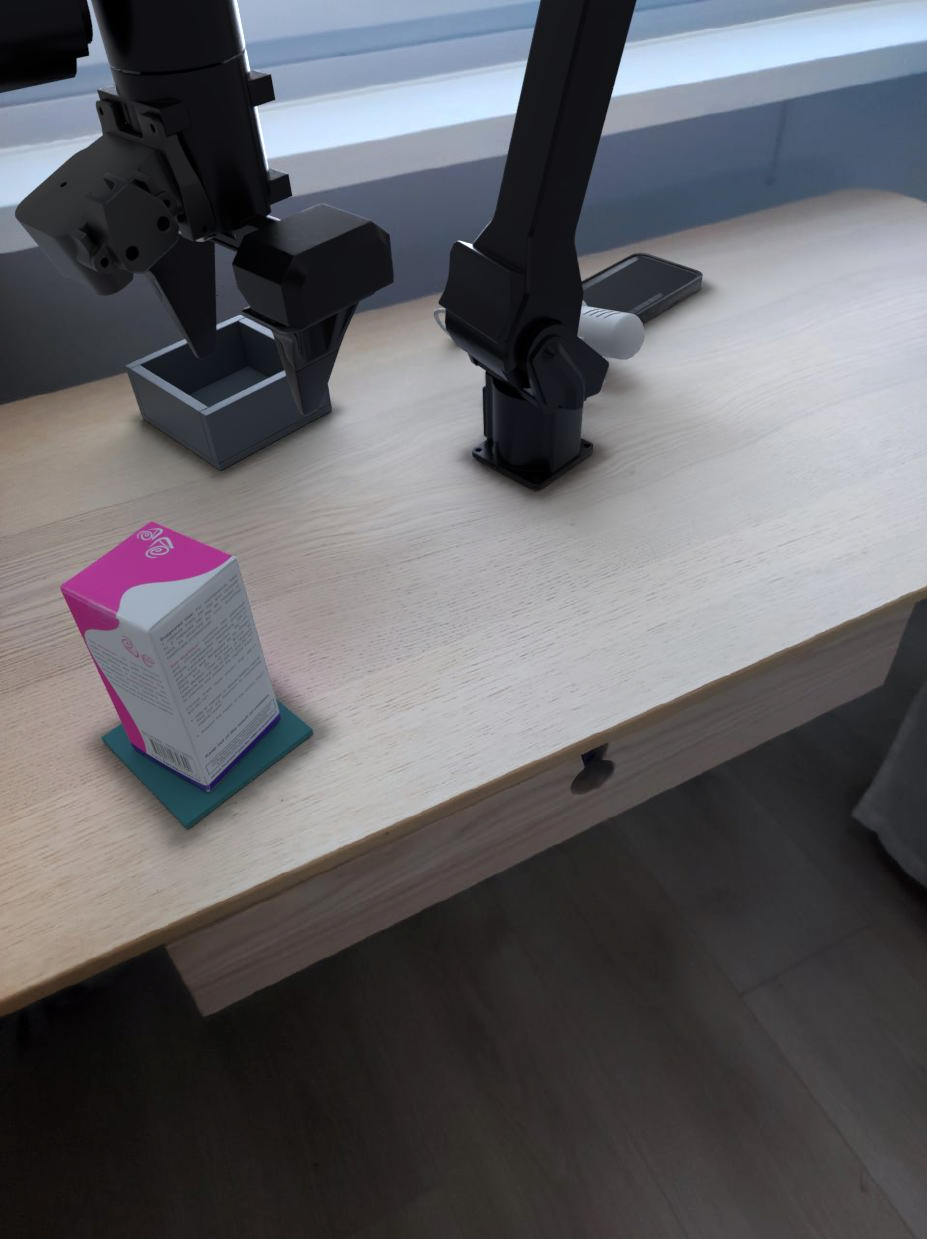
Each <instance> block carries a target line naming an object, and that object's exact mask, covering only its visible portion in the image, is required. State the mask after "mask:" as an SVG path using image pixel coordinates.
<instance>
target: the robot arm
mask: <svg viewBox="0 0 927 1239" xmlns="http://www.w3.org/2000/svg"><path fill="white" fill-rule="evenodd" d="M637 1H638V0H539V3H538V4H539V5H538V10H537V15H536V19H535V23H534V26H533V27H534V28H533V31H532V37H531V41H530V43H531V44H530V47H529V52H528V56H527V61H526V66H525V71H524V75H523V80H522V84H521V85H522V86H521V88H520V93H519V98H518V103H517V108H516V112H515V117H514V120H513V121H514V122H513V127H512V131H511V136H510V140H509V145H508V150H507V154H506V159H505V164H504V168H503V173H502V178H501V183H500V186H499V191H498V197H497V201H496V206H495V210H494V213H493V216H492V218H491V220H490V221H489V222H488V224H486V226H485V227H484V228H483V230H482V231H481V232H480V233H479V235H478V236H477V238H475V240H474V241H473V242H472V243H468V242H467V241H461V240H456V241H454V242H453V244H452V246H451V249H450V252H449V260H448V261H449V264H448V276H447V280H446V284H445V287H444V290H443V291H442V294H441V296H440V298H439V299H438V305H439V306H441V307H442V308H444V309H446V311H445V313H444V326H445V328H446V331H447V332H448V333H449V334H450V336H451V337H450V336H449V337H450V338H451V340H452V341H453V343H454V344H455V346H456V347H458V348H460V349H461V350H462V351H464V352H465V353H467V355H468V358H469V360H470V363H471V364H473V365H474V366H476V367H479V368H481V369H482V370H484V371H485V372H484V380H485V381H484V384H485V385H484V386H483V387H482V393H481V394H482V426H483V430H482V431H483V437H485V438H486V439H485V440H483V441H482V442H480V443H479V444H477V445H475V446H474V447H473V448H472V449H471V456H472V458H473V459H476V460H478V461H479V462H481V463H483V464H485V465H487V466H489V467H490V468H493V469H495V470H496V471H498V472H499V473H501V474H504V475H506V476H508V477H510V478H512V479H514V480H516V481H517V482H519V483H521V484H523V485H524V486H527V487H529V488H531V489H533V490H541V489H543V488H545V486H547V485H548V484H550V483H552V482H553V481H554V480H556V479H557V478H558V477H560V476H561V475H563V474H564V473H566V472H567V471H568V470H570V469H571V468H573V467H574V466H576V465H578V464H579V463H580V462H582V460H584V459H586V458H587V457H588V456H590V455H591V454H592V453H593V452H594V447H595V445H594V443H592V442H591V441H589V440H587V439H585V438H582V429H583V428H582V427H583V426H582V425H583V412H584V405H585V402H586V401H587V400H588V399H589V398H591V397H594V396H595V395H598V394H599V393H600V392H601V390H602V387H603V386H604V385H603V382H604V379H605V380H606V376H607V374H608V371H609V367H610V362H609V361H608V360H607V359H606V357H604V356H601V355H600V354H598V353H597V352H596V351H595V350H594V349H592V348H591V347H590V346H589V345H588V344H586V343H585V342H584V341H583V340H582V339H580V338H579V337H578V329H579V322H580V316H581V309H582V303H583V296H584V292H583V286H582V281H583V280H582V275H581V270H580V264H579V258H578V254H577V247H576V232H577V227H578V224H579V220H580V217H581V212H582V209H583V206H584V202H585V197H586V194H587V190H588V188H589V187H588V186H589V183H590V178H591V175H592V171H593V167H594V163H595V160H596V156H597V153H598V148H599V144H600V140H601V137H602V134H603V129H604V126H605V122H606V118H607V115H608V111H609V106H610V103H611V99H612V96H613V92H614V88H615V85H616V80H617V76H618V73H619V69H620V65H621V62H622V57H623V54H624V50H625V47H626V43H627V39H628V34H629V31H630V28H631V23H632V20H633V16H634V12H635V9H636V5H637ZM90 2H91V5H92V6H91V7H92V9H93V13H94V17H95V19H96V23H97V27H98V30H99V34H100V37H101V41H102V44H103V48H104V51H105V54H106V59H107V62H108V66H109V70H110V73H111V77H112V79H113V83H114V84H111V85H108V86H104V87H101V88H97V89H96V92H97V95H98V98H99V99H98V100H96V101H95V110H96V113H97V116H98V119H99V122H100V126H101V132H102V134H101V136H100V137H98V138H97V139H96V140H94V141H93V142H92V143H90V144H89V145H88V146H87V147H85V148H83V149H80V150H79V151H77V152H75V153H74V154H73V155H71V156H70V157H69V158H68V159H66V160H65V161H64V163H62V164H61V165H60V166H59V167H58V168H56V170H55V171H53V172H52V173H51V174H50V175H49V176H47V178H45V179H44V180H43V181H42V182H41V183H40V184H39V185H37V186H36V187H35V188H34V189H33V190H32V191H31V192H30V193H28V194H27V195H26V196H25V197H24V198H23V199H22V200H21V201H20V202H19V203H18V204H17V207H16V208H15V211H14V218H15V219H16V220H17V221H18V223H19V224H20V225H21V226H22V228H23V229H24V230H25V231H26V232H27V234H28V235H29V236H30V237H31V239H32V240H33V241H34V242H35V243H36V245H37V246H38V247H39V248H40V249H41V251H42V252H43V253H44V254H45V255H46V257H47V258H48V259H49V261H50V262H51V263H52V265H53V266H54V267H55V269H57V271H58V272H59V273H60V274H61V275H62V276H63V277H64V278H66V279H68V280H73V281H75V282H77V283H79V284H81V285H83V286H84V287H86V288H88V289H89V290H90V291H91V292H93V293H94V294H96V295H97V296H102V297H107V296H113V295H115V294H117V293H120V292H121V291H122V290H124V289H125V288H126V287H127V286H128V285H129V284H130V283H132V282H133V280H134V276H135V275H134V274H137V275H143V276H144V278H145V279H146V281H147V282H148V284H149V285H150V287H151V288H152V290H153V291H154V293H155V294H156V296H157V297H158V299H159V300H160V302H161V303H162V305H163V307H164V308H165V310H166V312H167V313H168V315H169V316H170V318H171V320H172V322H174V324H175V326H176V327H177V329H178V331H179V332H180V334H181V335H182V337H183V339H185V340H186V342H187V343H188V345H189V346H190V348H191V350H192V351H193V353H194V354H195V356H196V357H198V358H200V359H204V358H206V357H209V356H211V355H213V354H214V353H215V349H216V329H217V325H218V324H217V323H218V322H217V286H216V285H217V283H216V245H219V246H221V247H223V248H225V249H227V250H230V251H233V252H235V255H234V257H233V260H232V262H231V268H232V271H233V274H234V278H235V284H236V287H237V289H238V291H239V293H241V295H242V297H243V299H244V300H245V301H246V303H247V304H248V306H247V307H244V308H242V309H241V310H240V311H241V313H242V314H243V315H244V317H246V318H248V319H250V320H251V321H253V322H255V323H257V324H259V325H261V326H263V327H265V328H267V329H269V330H271V331H272V333H273V336H274V339H275V342H276V345H277V349H278V352H279V355H280V358H281V361H282V364H283V367H284V371H285V374H286V377H287V380H288V383H289V386H290V389H291V392H292V395H293V397H294V400H295V402H296V405H297V407H298V410H299V412H300V413H301V414H303V415H305V416H307V415H309V414H311V413H313V412H314V411H316V410H318V409H319V408H320V406H321V403H322V400H323V397H324V394H325V391H326V388H327V385H328V386H329V382H330V379H331V377H332V376H331V375H332V372H333V371H334V367H335V364H336V360H337V358H338V355H339V352H340V349H341V346H342V343H343V341H344V338H345V336H346V333H347V331H348V328H349V325H350V323H351V322H352V320H353V317H354V315H355V313H356V310H357V308H358V306H359V304H360V302H361V301H363V300H365V299H367V298H369V297H371V296H373V295H375V294H376V292H378V291H380V290H382V289H384V288H386V287H388V286H390V285H392V284H394V281H395V273H394V263H393V253H392V243H391V235H390V234H389V233H388V232H387V231H386V230H384V229H383V228H382V227H381V226H380V225H378V224H377V223H376V222H375V221H373V220H372V219H369V218H367V217H363V216H362V215H361V216H360V215H358V214H354V213H353V212H349V211H347V210H344V209H341V208H338V207H335V206H332V205H329V204H326V203H324V202H320V203H318V204H316V205H312V206H310V207H308V208H306V209H303V210H300V211H299V212H296V213H294V214H291V215H289V216H287V217H284V218H282V219H279V218H277V217H274V216H271V215H270V214H271V213H272V207H271V205H275V204H276V203H279V202H282V201H284V200H287V199H289V198H292V197H293V191H292V185H291V180H290V174H289V173H287V172H284V171H282V170H280V169H279V170H278V169H277V168H272V167H270V166H269V162H268V159H267V158H268V157H267V152H266V148H265V142H264V136H263V132H262V126H261V121H260V116H259V111H258V106H261V105H264V104H268V103H270V102H273V101H276V94H275V90H274V88H275V87H274V84H273V77H272V74H271V73H268V72H264V71H260V70H257V69H252V68H250V63H249V58H248V53H247V52H248V51H247V48H246V42H245V36H244V31H243V26H242V22H241V16H240V10H239V6H238V0H90ZM93 39H94V28H93V21H92V16H91V10H90V7H89V2H88V0H0V94H4V93H7V92H12V91H17V90H21V89H27V88H33V87H37V86H41V85H45V84H51V83H55V82H61V81H65V80H70V79H73V78H76V76H77V74H78V59H80V58H87V57H90V48H89V45H90V44H92V42H93V41H94V40H93ZM602 385H603V386H602Z"/></svg>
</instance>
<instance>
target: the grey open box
mask: <svg viewBox="0 0 927 1239" xmlns="http://www.w3.org/2000/svg"><path fill="white" fill-rule="evenodd" d="M124 367H125V370H126V373H127V377H128V380H129V382H130V385H131V388H132V391H133V394H134V397H135V400H136V403H137V406H138V410H139V412H140V415H141V419H143V420H144V421H146V422H147V423H149V424H150V425H152V426H153V427H155V428H156V429H158V430H160V431H161V432H162V433H163V434H165V435H167V436H168V437H170V438H171V439H172V440H174V441H176V442H177V443H179V444H180V445H182V446H183V447H185V448H186V449H187V450H188V451H191V452H192V453H194V454H195V455H197V456H198V457H200V458H201V459H202V460H204V461H206V462H207V463H209V464H210V465H211V466H213V467H215V468H216V469H217V470H219V471H223V470H225V469H226V468H229V467H230V466H232V465H234V464H236V463H237V462H240V461H241V460H243V459H245V458H247V457H249V456H251V455H253V454H254V453H256V452H258V451H260V450H261V449H263V448H265V447H267V446H269V445H271V444H273V443H275V442H277V441H278V440H279V439H282V438H284V437H286V436H287V435H289V434H291V433H293V432H295V431H296V430H298V429H300V428H302V427H305V426H306V425H308V424H310V423H311V422H313V421H315V420H316V419H319V418H321V417H322V416H324V415H327V414H329V413H330V412H332V411H333V407H332V400H331V394H330V388H329V384H328V385H327V388H326V391H325V394H324V397H323V400H322V403H321V406H320V408H319V409H318V410H316V411H314V412H313V413H311V414H309V415H307V416H305V415H303V414H301V413H300V412H299V410H298V407H297V405H296V402H295V400H294V397H293V395H292V392H291V389H290V386H289V383H288V380H287V377H286V374H285V371H284V367H283V364H282V361H281V358H280V355H279V352H278V349H277V345H276V342H275V339H274V336H273V333H272V331H271V330H270V329H268V328H267V327H265V326H263V325H261V324H260V323H258V322H256V321H254V320H252V319H250V318H248V317H246V316H245V315H244V316H243V315H241V314H238V315H236V316H233V317H231V318H229V319H227V320H225V321H222V322H219V323H218V324H217V329H216V349H215V353H214V354H213V355H211V356H209V357H206V358H204V359H200V358H198V357H196V356H195V354H194V353H193V351H192V350H191V348H190V346H189V345H188V343H187V342H186V340H185V338H183V339H182V340H180V341H177V342H175V343H172V344H170V345H168V346H165V347H164V348H162V349H159V350H157V351H155V352H153V353H150V354H148V355H146V356H143V357H141V358H139V359H137V360H134V361H132V362H130V363H127V364H125V365H124Z"/></svg>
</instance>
